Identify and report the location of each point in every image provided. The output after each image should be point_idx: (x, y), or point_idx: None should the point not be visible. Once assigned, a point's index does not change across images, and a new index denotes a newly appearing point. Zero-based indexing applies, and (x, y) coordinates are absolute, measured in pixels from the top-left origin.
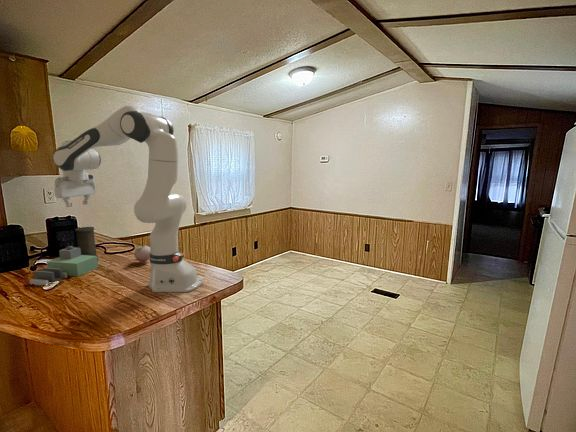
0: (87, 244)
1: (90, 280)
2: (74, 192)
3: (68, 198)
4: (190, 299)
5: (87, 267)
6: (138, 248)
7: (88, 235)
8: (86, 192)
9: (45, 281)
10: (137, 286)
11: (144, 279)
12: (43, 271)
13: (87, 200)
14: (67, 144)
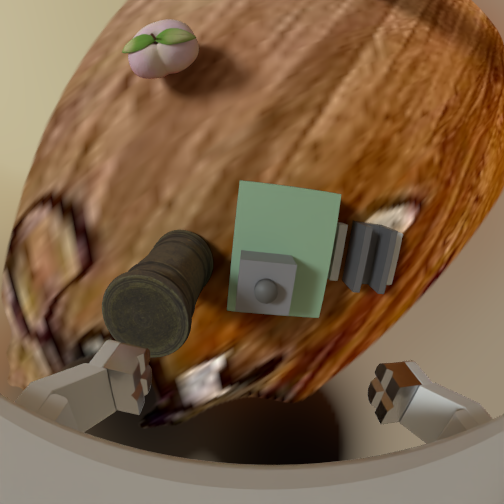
0: (187, 263)
1: (356, 132)
2: (462, 497)
3: (472, 420)
4: None
5: (290, 186)
6: (185, 35)
7: (169, 273)
8: (60, 473)
9: (402, 234)
10: (370, 7)
11: (325, 2)
12: (387, 265)
13: (97, 368)
14: None
